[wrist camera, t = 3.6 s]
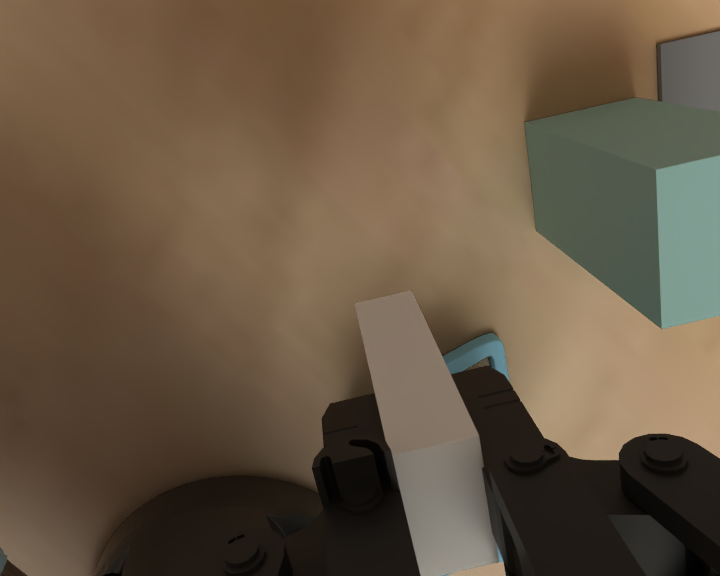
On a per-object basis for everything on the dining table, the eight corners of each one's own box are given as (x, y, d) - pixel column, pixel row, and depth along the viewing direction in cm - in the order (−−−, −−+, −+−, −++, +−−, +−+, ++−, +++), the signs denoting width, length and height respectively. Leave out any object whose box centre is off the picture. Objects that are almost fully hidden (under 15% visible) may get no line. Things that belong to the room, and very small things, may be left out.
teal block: (536, 230, 30) (661, 328, 20) (524, 122, 29) (655, 169, 18) (641, 206, 30) (818, 292, 20) (636, 97, 29) (828, 130, 18)
